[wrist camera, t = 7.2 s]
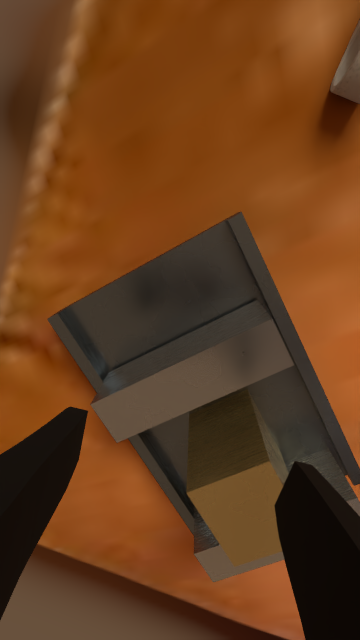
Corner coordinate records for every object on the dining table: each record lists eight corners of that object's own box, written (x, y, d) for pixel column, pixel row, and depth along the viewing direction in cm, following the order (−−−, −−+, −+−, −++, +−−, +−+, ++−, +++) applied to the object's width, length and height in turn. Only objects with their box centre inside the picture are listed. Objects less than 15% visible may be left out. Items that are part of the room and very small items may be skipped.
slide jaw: (275, 338, 18) (294, 365, 14) (130, 405, 20) (116, 442, 16) (257, 299, 17) (271, 318, 14) (108, 372, 19) (90, 404, 16)
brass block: (280, 451, 20) (313, 541, 15) (224, 473, 21) (234, 566, 15) (247, 389, 19) (269, 461, 13) (189, 414, 20) (186, 493, 14)
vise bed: (351, 457, 22) (395, 523, 17) (195, 514, 24) (195, 588, 19) (238, 212, 17) (254, 208, 13) (60, 310, 19) (16, 338, 15)
